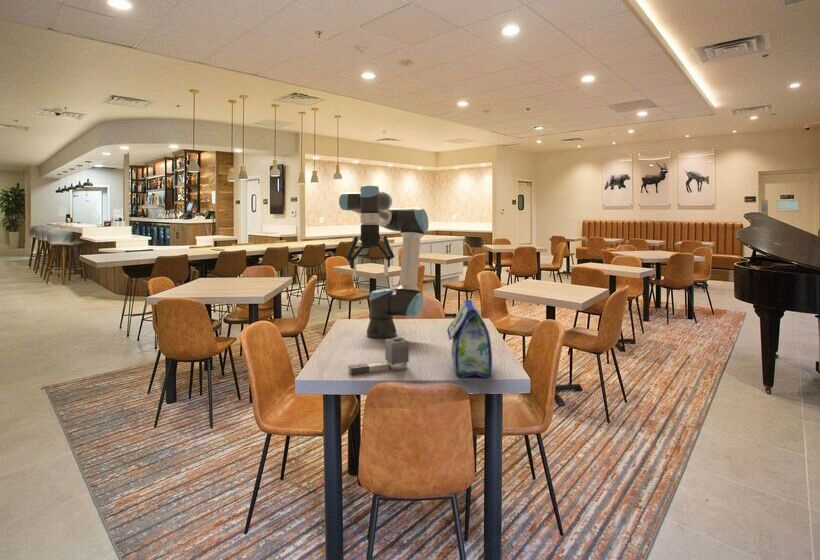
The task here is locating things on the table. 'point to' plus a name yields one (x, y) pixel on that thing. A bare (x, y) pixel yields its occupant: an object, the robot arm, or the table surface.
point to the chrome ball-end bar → (376, 367)
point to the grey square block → (396, 350)
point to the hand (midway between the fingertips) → (370, 276)
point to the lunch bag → (470, 343)
